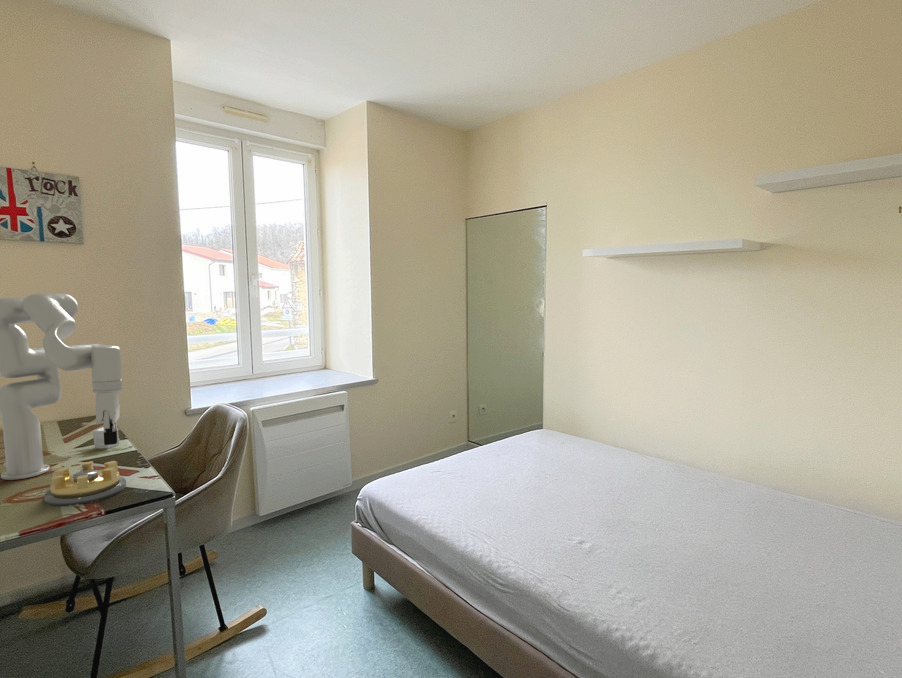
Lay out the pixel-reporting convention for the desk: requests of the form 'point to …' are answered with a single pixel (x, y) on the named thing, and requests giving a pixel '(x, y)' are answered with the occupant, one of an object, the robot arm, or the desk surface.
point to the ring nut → (84, 481)
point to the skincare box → (102, 438)
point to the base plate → (85, 499)
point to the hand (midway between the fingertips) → (111, 443)
